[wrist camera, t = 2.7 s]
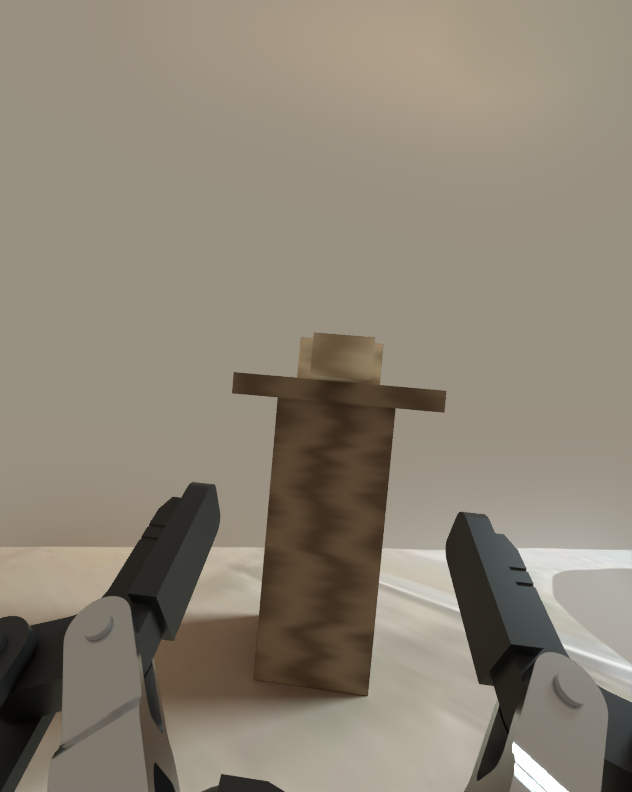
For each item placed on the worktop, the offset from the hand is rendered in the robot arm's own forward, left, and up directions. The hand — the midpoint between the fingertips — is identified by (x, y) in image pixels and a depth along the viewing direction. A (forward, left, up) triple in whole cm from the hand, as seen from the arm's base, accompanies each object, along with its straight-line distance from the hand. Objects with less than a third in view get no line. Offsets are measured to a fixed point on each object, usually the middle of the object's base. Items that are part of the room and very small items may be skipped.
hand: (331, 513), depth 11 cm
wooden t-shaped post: (0, -26, -27) cm, 38 cm away
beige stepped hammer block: (0, -18, +5) cm, 19 cm away
